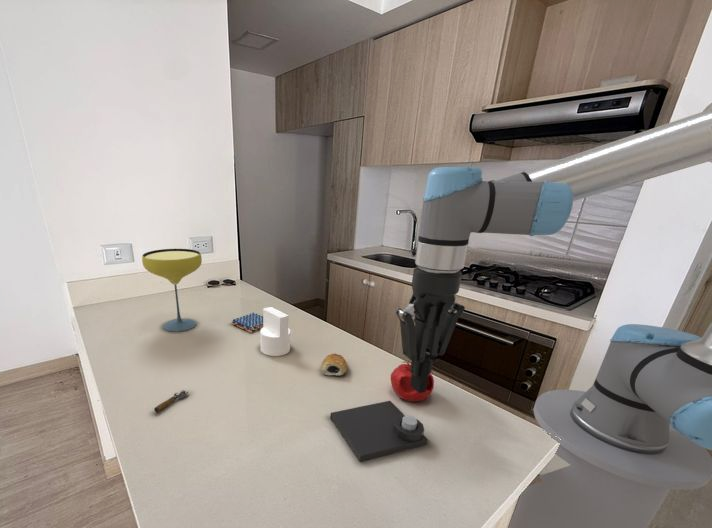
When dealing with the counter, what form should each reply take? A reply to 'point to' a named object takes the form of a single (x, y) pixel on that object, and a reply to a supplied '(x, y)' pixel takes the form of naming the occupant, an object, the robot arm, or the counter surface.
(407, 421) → the button
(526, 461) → the counter surface
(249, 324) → the woven mat
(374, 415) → the scale
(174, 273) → the cocktail glass
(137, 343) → the counter surface
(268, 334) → the base with upright slab
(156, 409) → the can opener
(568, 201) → the robot arm
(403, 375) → the pomegranate
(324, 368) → the pastry
